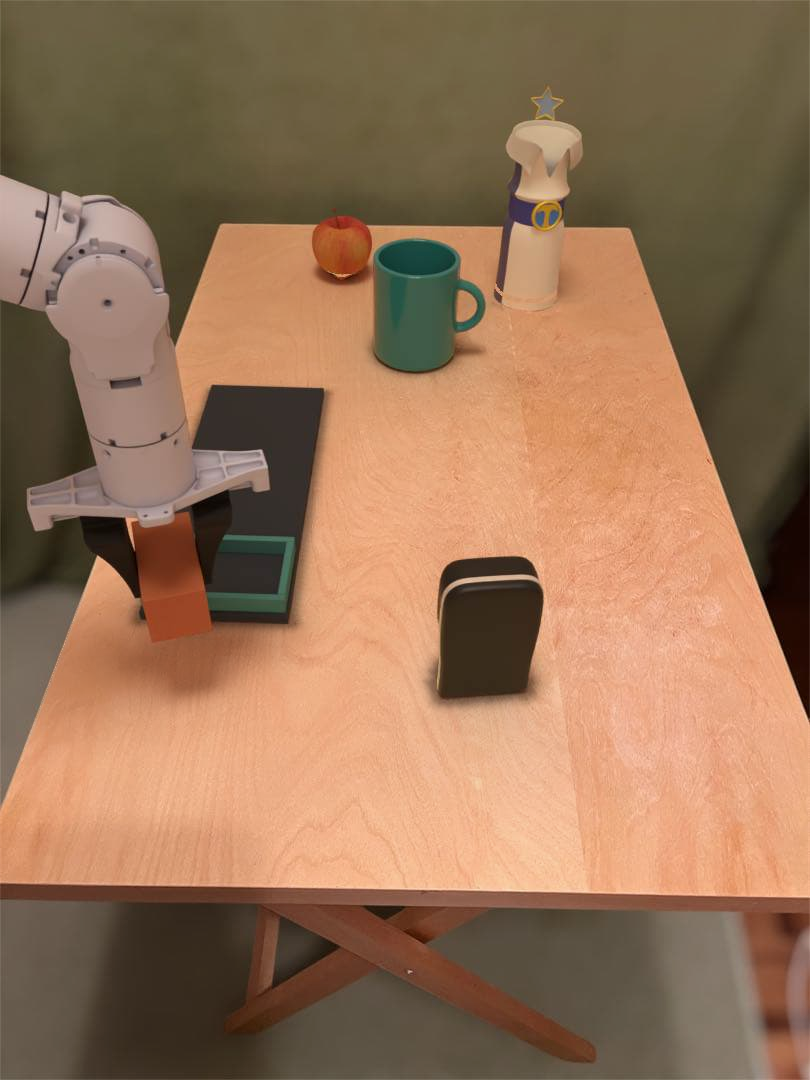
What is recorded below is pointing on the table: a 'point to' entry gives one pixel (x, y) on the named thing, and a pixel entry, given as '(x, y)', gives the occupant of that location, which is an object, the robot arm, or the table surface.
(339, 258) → the apple
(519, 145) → the white trophy figurine
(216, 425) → the back pad
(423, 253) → the cup
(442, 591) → the battery charger
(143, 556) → the pad piece
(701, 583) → the table surface
